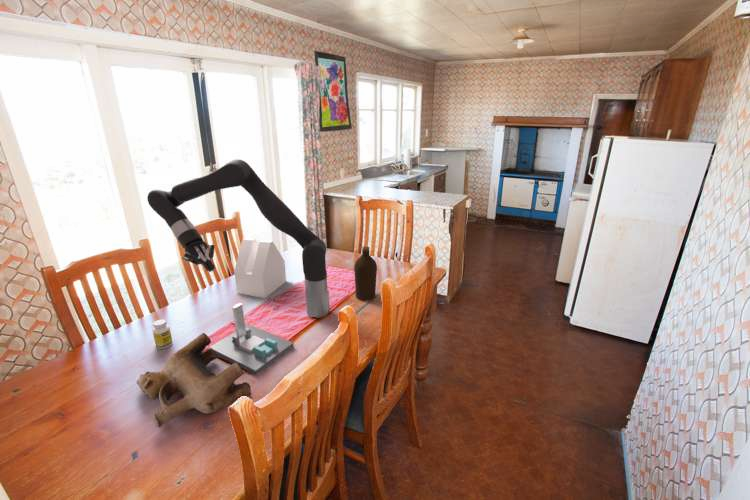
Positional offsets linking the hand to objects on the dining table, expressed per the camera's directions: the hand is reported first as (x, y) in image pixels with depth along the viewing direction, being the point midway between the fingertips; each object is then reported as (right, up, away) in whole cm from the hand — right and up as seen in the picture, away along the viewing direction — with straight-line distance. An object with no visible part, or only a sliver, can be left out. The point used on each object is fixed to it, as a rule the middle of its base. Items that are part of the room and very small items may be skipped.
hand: (212, 270), depth 134 cm
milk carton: (+5, -11, +44) cm, 46 cm away
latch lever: (+12, -24, -2) cm, 27 cm away
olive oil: (+57, -15, +37) cm, 69 cm away
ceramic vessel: (+5, -38, -24) cm, 45 cm away
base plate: (+16, -29, -3) cm, 33 cm away
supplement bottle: (-17, -28, -1) cm, 33 cm away
